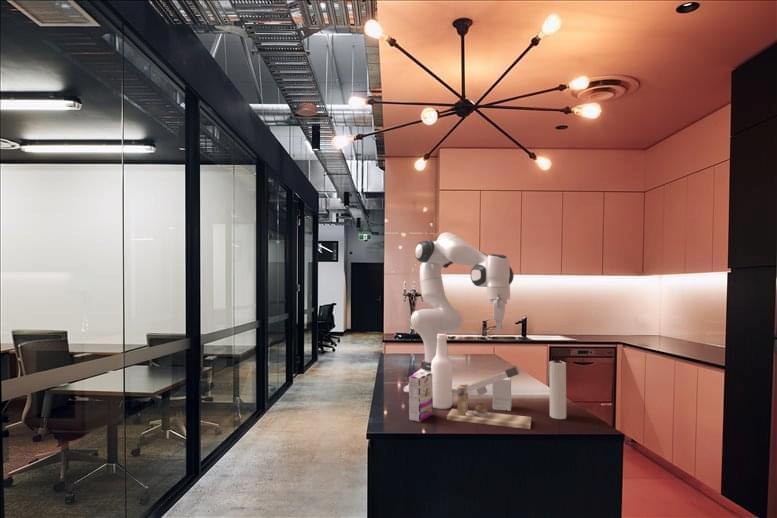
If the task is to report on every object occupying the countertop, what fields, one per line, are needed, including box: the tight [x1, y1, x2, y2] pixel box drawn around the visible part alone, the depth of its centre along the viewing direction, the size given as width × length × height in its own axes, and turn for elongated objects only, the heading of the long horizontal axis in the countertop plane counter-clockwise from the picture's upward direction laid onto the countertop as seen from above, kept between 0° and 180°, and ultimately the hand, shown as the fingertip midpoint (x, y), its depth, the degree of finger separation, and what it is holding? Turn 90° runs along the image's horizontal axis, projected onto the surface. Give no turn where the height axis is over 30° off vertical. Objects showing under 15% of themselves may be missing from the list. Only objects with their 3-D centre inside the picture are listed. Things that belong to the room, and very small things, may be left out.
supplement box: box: [491, 377, 513, 412], centre depth 187 cm, size 7×7×13 cm
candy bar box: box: [408, 372, 434, 423], centre depth 173 cm, size 11×5×16 cm, turn 148°
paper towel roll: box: [548, 360, 567, 420], centre depth 175 cm, size 7×6×21 cm
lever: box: [466, 365, 520, 397], centre depth 171 cm, size 24×4×5 cm, turn 72°
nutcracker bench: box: [446, 383, 532, 430], centre depth 170 cm, size 30×10×12 cm, turn 70°
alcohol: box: [431, 333, 453, 410], centre depth 189 cm, size 9×9×30 cm
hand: (499, 330), depth 176 cm, fingers open, 8 cm apart
